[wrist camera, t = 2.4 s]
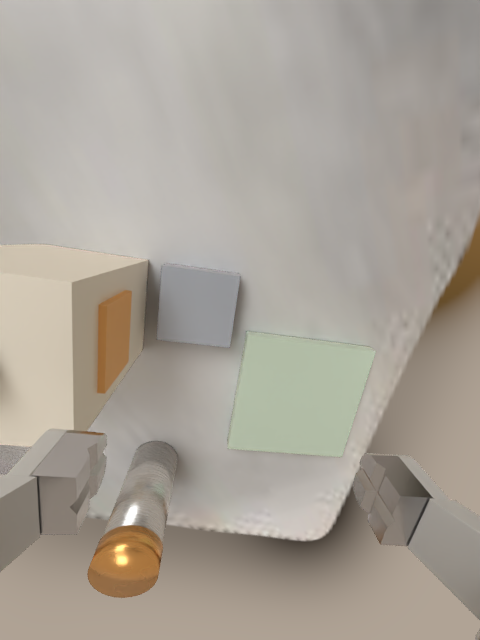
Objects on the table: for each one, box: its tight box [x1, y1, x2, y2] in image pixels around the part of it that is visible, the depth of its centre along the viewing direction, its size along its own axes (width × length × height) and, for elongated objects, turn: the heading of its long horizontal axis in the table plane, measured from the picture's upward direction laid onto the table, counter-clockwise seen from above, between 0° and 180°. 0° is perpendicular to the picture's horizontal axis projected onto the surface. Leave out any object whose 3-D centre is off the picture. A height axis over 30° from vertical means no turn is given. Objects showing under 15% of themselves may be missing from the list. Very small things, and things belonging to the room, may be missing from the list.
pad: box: [227, 331, 376, 457], centre depth 26 cm, size 12×12×1 cm
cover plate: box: [157, 263, 240, 348], centre depth 22 cm, size 6×6×2 cm
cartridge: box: [88, 441, 178, 598], centre depth 23 cm, size 5×5×10 cm
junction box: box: [0, 244, 149, 447], centre depth 16 cm, size 8×8×14 cm
